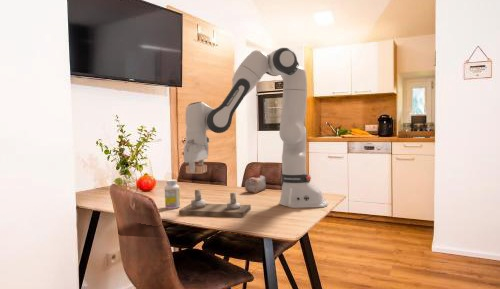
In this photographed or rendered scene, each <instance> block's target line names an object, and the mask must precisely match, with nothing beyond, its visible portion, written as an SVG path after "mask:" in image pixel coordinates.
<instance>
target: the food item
mask: <svg viewBox="0 0 500 289" xmlns="http://www.w3.org/2000/svg"><path fill="white" fill-rule="evenodd" d="M266 186H267V185H266V177H265V176H264V175H260V174H258V173H256V174H253V173H252V174H251V177H249V178H248V179H246V181H245V182H244V187H245V191H246V192H247V193H251V194H257V193H259V192H262V191H264V190H266V188H267V187H266Z"/></svg>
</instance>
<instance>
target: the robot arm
mask: <svg viewBox="0 0 500 289" xmlns="http://www.w3.org/2000/svg"><path fill="white" fill-rule="evenodd" d="M265 74H266V75H269V76H272V77H277V76H281V78H282V81H283V86H282V87H283V88H282V106H281V107H282V108H281V109H282V110H281V114H280V124H279V134H278V135H279V137H280V139H281V141H282V143H283V144H282V152H281V153H282V156H281V170H282V171H281V176H280V182H281V183H280V184H281V194H280V199H279V202H278V203H279V205H282V206H283V207H284V206H285V207H288V208H293V209H296V208H298V209H299V208H301V209H303V208H326V207H327V206H328V205H329V201H328V200H327V199H324V195H323V192H322V189H321V188H319V187H318V186H316V185H315V184H314V183H313V182H311V179H312V176H311V175H310V174H309V173H307V170H306V167H307V166H306V164H307V162H306V160H307V159H306V158H307V157H306V156H307V155H306V154H307V128H306V126H305V121H306V113H307V100H308V99H307V96H308V82H307V81H308V80H307V78H308V77H307V72H306V70H305V69H304V68H303V67H301V66H300V64H299V62H298V57H297V55H296V53H295V52H294V51H293V49H292V48H289V47H280V48H277V49H275V50H273V51H272V52H270V53H269V54H267V53H265V52H264V51H263V50H262V51H261V50H258V49H257V50H253V51H251V52H250V53H249V54H248V55H247V56H246V57H245V58H244V59H243V61H242V62H241V63H240V64H239V66H238V67H237V68H236V70H235V72H234V74H233V77H232V80H231V82H232V83H231V84H232V85H231V88H230V90H229V92H228V93H227V96H226V97H224V99H223V101H222V102H221V104H220V105H219V106H218V107H216V108H214V107H211V106H209V105H207V104H206V103H205V102H204V101H196V102H191V103H189V104H188V105H187V106H186V108H185V117H184V118H185V126H186V127H185V128H186V130H185V145H184V148H183V162H184V163H187V164H188V166H190V172H191V173H190V174H193V173H194V172H196V168H195V166H194V165H196V162H198V164H197V165H204V160H206V159H208V157H209V143H210V137H209V136H208V135H207V131H211V132H213V133H215V134H223V133H226V131H228V130H229V128H230V127H231V125H232V121H233V120H232V119H233V117H234V113H235V112H236V110H237V109H238V107H239V105H240V104H241V103H242V101H243V100H244V98H245V97H246V96H247V95H248V94H249V93H250V92H252V90H253V89H254V88H255V87H256V86H257V85H258V84H259V83H260V81H261V79H262V77H263V76H264V75H265Z"/></svg>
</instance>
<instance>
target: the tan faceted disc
mask: <svg viewBox="0 0 500 289" xmlns="http://www.w3.org/2000/svg"><path fill="white" fill-rule="evenodd" d="M194 166H195V168H196V172H194V173H191V172H190V166H189V165H186V166H185V173H186V174H193V175H194V174H198V175H199V174H201V175H202V174H205V173H206V172H208V165H207V164H203V165H198V164H194Z"/></svg>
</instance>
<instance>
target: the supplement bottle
mask: <svg viewBox="0 0 500 289" xmlns="http://www.w3.org/2000/svg"><path fill="white" fill-rule="evenodd" d="M177 183H178V180H177V179H173V178H172V179H167V180H166V185H165V187H164V204H165V209H168V210H174V209H179V208H180V207H181V198H180V185H178V184H177Z"/></svg>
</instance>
